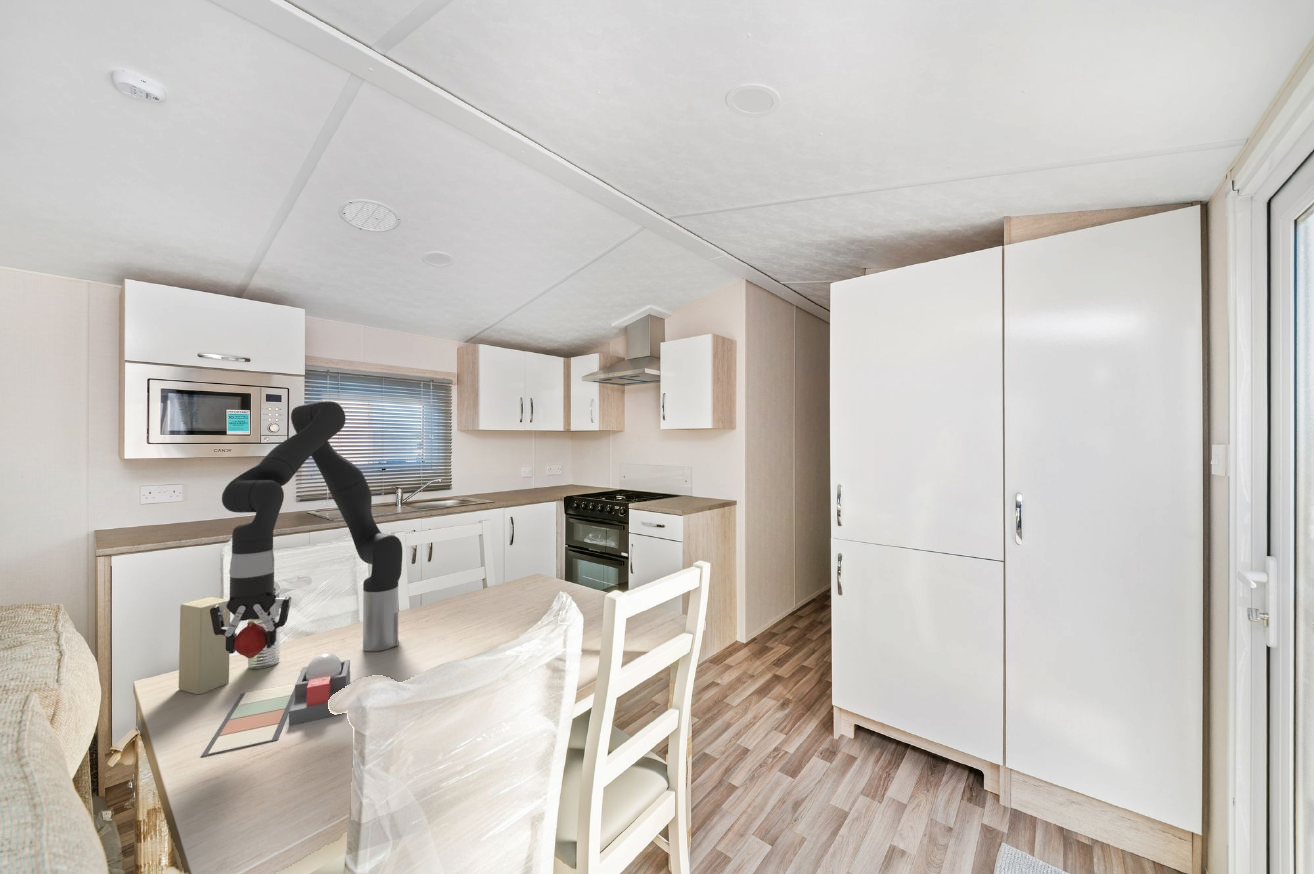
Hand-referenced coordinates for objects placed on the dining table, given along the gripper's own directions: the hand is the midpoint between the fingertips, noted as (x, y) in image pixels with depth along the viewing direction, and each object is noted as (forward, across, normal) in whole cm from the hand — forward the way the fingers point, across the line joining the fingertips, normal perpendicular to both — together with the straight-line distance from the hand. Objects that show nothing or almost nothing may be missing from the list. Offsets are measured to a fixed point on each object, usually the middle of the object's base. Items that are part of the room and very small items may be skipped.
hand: (251, 649), depth 109 cm
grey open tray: (+16, -13, -3) cm, 20 cm away
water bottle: (+16, +5, -34) cm, 38 cm away
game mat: (+16, -1, -3) cm, 16 cm away
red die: (+13, -13, +2) cm, 18 cm away
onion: (+2, 0, 0) cm, 2 cm away
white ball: (+13, -13, -6) cm, 19 cm away
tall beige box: (+16, +15, -26) cm, 34 cm away
